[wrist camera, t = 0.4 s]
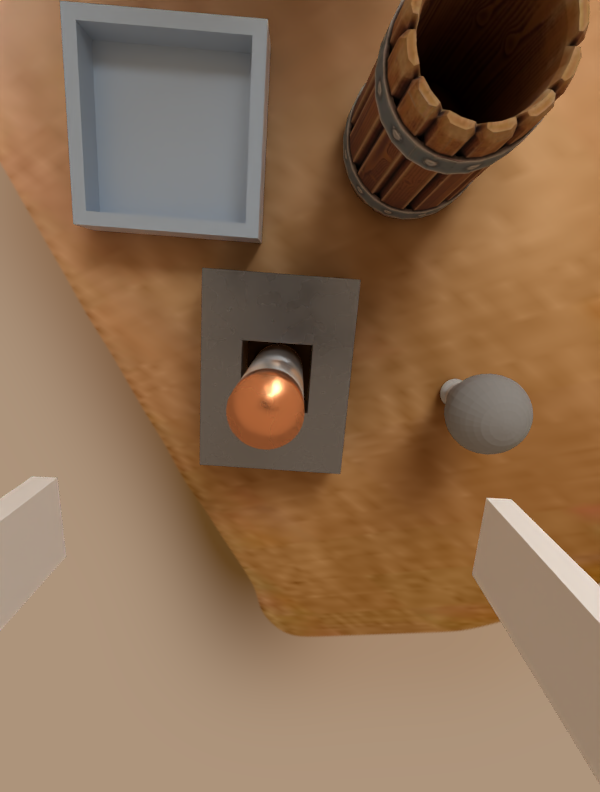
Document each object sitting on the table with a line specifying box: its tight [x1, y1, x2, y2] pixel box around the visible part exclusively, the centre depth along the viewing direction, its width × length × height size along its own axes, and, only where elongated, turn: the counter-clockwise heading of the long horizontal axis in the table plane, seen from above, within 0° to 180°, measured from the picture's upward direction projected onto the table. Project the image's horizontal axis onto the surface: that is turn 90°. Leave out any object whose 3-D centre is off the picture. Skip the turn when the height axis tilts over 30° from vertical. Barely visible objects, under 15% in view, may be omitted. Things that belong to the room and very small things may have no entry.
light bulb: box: [440, 374, 533, 454], centre depth 32 cm, size 6×6×10 cm
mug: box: [343, 0, 590, 220], centre depth 24 cm, size 16×11×15 cm
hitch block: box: [200, 268, 361, 474], centre depth 34 cm, size 16×12×4 cm
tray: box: [60, 1, 271, 243], centre depth 30 cm, size 14×14×3 cm
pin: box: [226, 344, 304, 450], centre depth 29 cm, size 4×4×14 cm
